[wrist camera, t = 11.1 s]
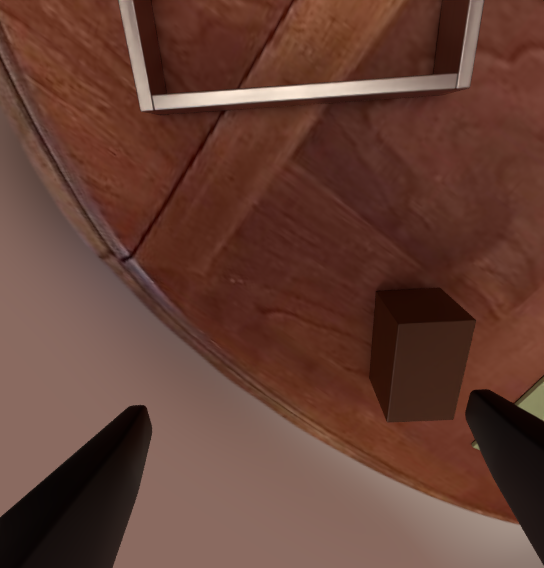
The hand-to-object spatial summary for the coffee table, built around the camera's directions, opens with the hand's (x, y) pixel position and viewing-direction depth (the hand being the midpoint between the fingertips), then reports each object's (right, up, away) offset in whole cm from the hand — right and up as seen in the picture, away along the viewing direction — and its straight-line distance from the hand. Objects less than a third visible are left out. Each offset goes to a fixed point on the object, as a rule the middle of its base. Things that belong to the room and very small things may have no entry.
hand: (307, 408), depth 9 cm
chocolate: (+8, 0, +13) cm, 15 cm away
